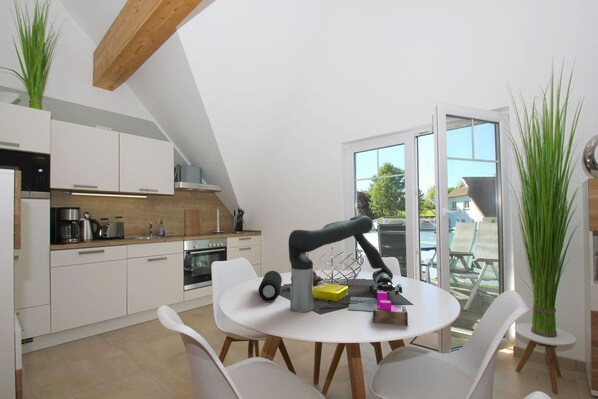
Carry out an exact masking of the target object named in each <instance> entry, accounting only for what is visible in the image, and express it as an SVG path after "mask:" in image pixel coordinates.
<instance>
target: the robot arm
mask: <svg viewBox="0 0 598 399" xmlns="http://www.w3.org/2000/svg"><path fill="white" fill-rule="evenodd" d="M373 225H374V224H373V221H372V219H371V217H369V216H367V215H359V216H353V217H350V219H349V220H339V221H335V222H330V223H328V224H325V225H324V226H323V227H322V228H321V229H315V230H313V229H312V230H310V229H309V230H307V229H306V230H304V229H295V230H292V231H291V232H290V234H289V237H288V257H289V263H290V266H291V267H290V268H291V269H290V270H291V273H290V274H291V277H290V281H291V286H289V294H290V295H289V302H290V303H289V306H290V307H289V309H290V310H291V311H294V312H298V313H299V312H300V313H308V312H312V310H314V298H313V271H314V262H313V261H312V259H310V258H309V257H308V255H307V253H311V252H313V251H315V250H317V249H319V248H321V247H323V246H325V245H331V244H333V243H337V242H342V241H343V240H346V239H348V238H351V237H353V238H354V239H355V241H357V243H358V245H359V246H360V248H361V249H362V251H363V253H364V254H365V256H366V258H367V261H368V263H369V265H370V267H371V268H372V269H374V270H376V271H374V272H372V274H371V275H372V279H373V281H374V283H375V284H374V283H373V282H369V285H368V287H369V292H373V293H374V294H375V295H377V291H378V292H387V294H389V293H392V294H395V296H398V295H399V294H403V286H402V285H401V284H400V283H397V284H396V285H395V284H394V283H393V281H392V280H393V279H394V275H393V272H392V271H391V269H390V268H389V267H388V266H387V264H386V263H385V262H384V260H383V258H382V256H381V253H380V252H379V250H378V248H377V247H376V246H374V244H372V243H371V241H369V240H368V238H366V237H365V235H364V234H367V233H370V231H371V230H372V229H373Z"/></svg>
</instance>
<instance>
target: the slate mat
mask: <svg viewBox="0 0 598 399" xmlns="http://www.w3.org/2000/svg"><path fill="white" fill-rule="evenodd" d="M350 299H351V300H359V301H360V300H362V301H363V300H366V301H370V302H364V303H358V304H348V308H347V311H354V312H355V311H356V312H370V313H373V304H375V305H376V310H378V302H377V297H363V296H362V297H361V296H350V298H349V300H350Z"/></svg>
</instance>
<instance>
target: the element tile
mask: <svg viewBox="0 0 598 399" xmlns="http://www.w3.org/2000/svg"><path fill="white" fill-rule="evenodd" d="M346 295H347V296H349V287H348V285H343V284H335V283H330V282H329V283H328V282H327V283H326V282H322V283H319V284H317V286H315V287H313V299H316V298H320V299H319V300H322V299H326V300H325V301H328V300H333V301H332V302H334V301H337V300H340V299H341V298H343V297H344V298H346V297H347V296H346ZM345 296H346V297H345ZM344 298H343V299H344ZM341 300H342V299H341ZM341 300H340V301H341ZM337 302H338V301H337Z"/></svg>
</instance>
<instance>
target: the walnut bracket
mask: <svg viewBox="0 0 598 399" xmlns="http://www.w3.org/2000/svg"><path fill="white" fill-rule="evenodd" d="M401 307H402V308H401V309H402V310H398V311H387V310H376V305H375V304H373V312H372V322H373V323H374V324H382V325H383V324H384V325H395V326H396V325H397V326H409V320H408V318H409V317H408V315H409V314H408V310H407V307H406V305H401Z"/></svg>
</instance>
